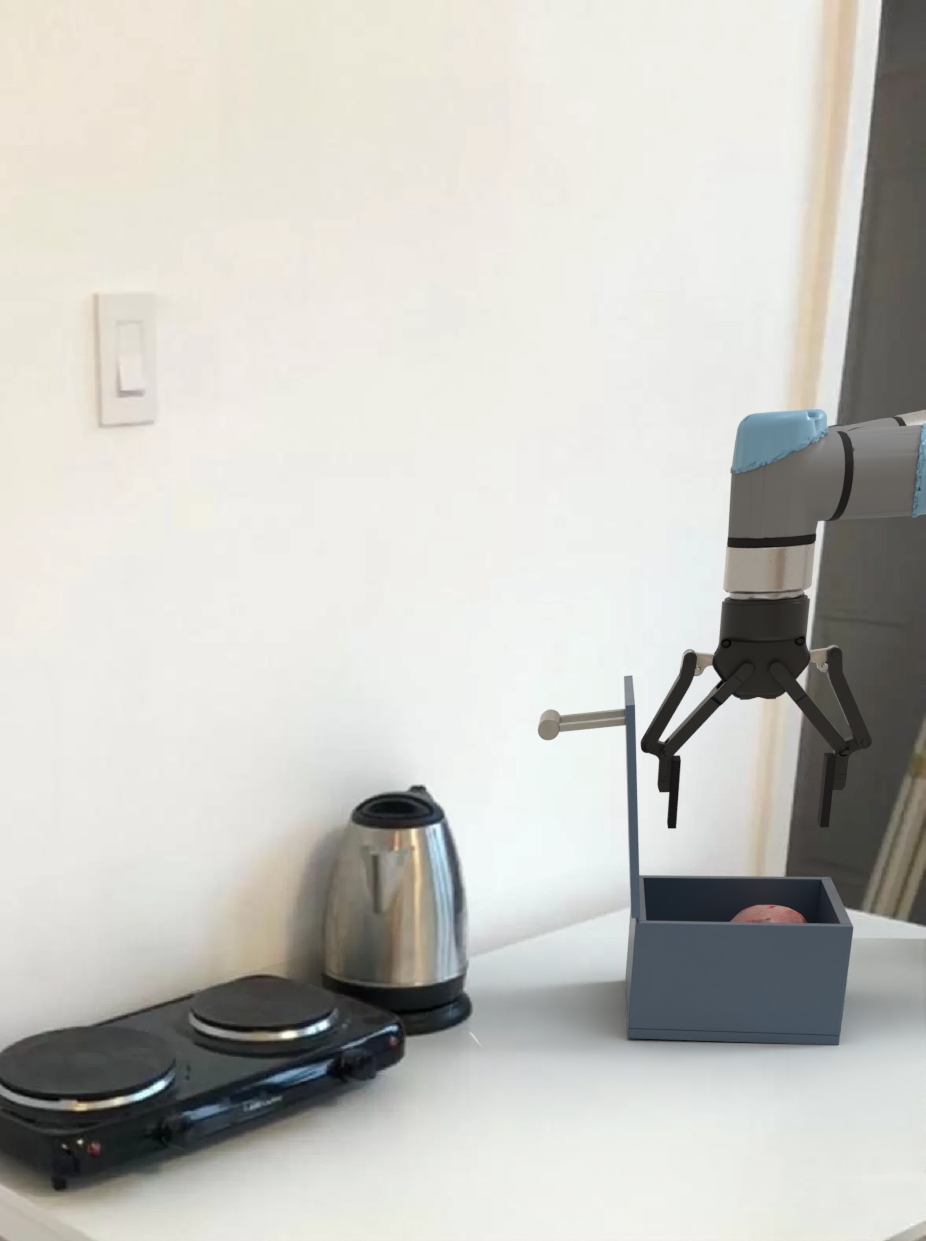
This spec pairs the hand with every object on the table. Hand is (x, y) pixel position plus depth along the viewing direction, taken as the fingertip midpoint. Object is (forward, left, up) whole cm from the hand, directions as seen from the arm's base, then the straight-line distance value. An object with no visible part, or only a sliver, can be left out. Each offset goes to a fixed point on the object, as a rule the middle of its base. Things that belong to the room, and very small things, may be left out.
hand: (746, 825), depth 171 cm
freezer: (0, 0, -19) cm, 19 cm away
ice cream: (-1, -1, -18) cm, 18 cm away
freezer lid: (+10, 0, +3) cm, 11 cm away
